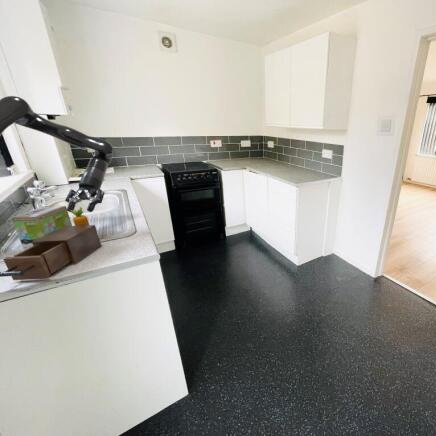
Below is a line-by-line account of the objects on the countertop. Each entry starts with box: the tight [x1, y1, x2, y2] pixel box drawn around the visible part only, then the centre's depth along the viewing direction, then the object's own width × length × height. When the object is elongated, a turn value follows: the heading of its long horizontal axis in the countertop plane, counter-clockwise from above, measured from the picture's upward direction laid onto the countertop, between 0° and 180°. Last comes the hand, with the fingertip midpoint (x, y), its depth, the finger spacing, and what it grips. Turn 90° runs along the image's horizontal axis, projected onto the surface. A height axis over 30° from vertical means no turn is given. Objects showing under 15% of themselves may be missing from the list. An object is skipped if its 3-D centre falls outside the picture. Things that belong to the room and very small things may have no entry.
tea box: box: [11, 205, 73, 251], centre depth 103 cm, size 15×10×15 cm
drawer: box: [0, 242, 72, 281], centre depth 81 cm, size 18×10×8 cm, turn 4°
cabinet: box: [32, 224, 102, 265], centre depth 93 cm, size 15×12×10 cm
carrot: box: [69, 206, 90, 226], centre depth 105 cm, size 5×5×15 cm
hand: (79, 211), depth 104 cm, fingers open, 8 cm apart
